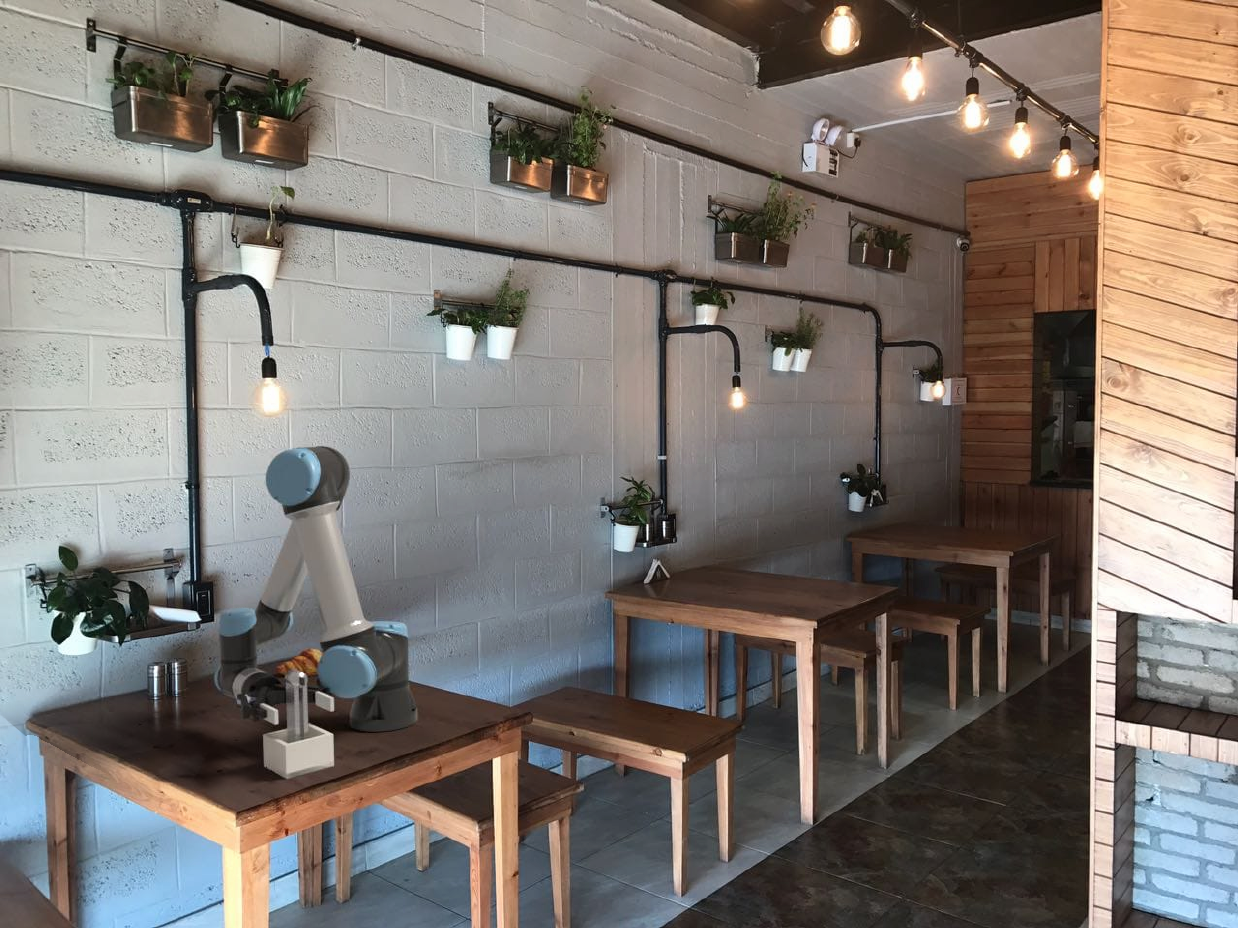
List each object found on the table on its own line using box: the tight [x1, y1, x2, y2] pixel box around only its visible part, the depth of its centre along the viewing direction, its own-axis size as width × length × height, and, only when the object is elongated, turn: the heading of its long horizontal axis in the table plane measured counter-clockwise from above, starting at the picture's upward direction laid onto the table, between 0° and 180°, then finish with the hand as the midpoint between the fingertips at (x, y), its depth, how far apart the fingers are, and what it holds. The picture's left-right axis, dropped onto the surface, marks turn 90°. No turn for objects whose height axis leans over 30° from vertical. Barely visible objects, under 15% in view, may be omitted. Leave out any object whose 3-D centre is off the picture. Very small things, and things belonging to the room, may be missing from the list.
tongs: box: [284, 669, 309, 744], centre depth 199 cm, size 3×5×18 cm, turn 44°
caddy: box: [262, 722, 335, 780], centre depth 200 cm, size 10×10×6 cm
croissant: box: [275, 648, 323, 677], centre depth 274 cm, size 21×10×8 cm, turn 124°
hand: (304, 710), depth 196 cm, fingers open, 11 cm apart
